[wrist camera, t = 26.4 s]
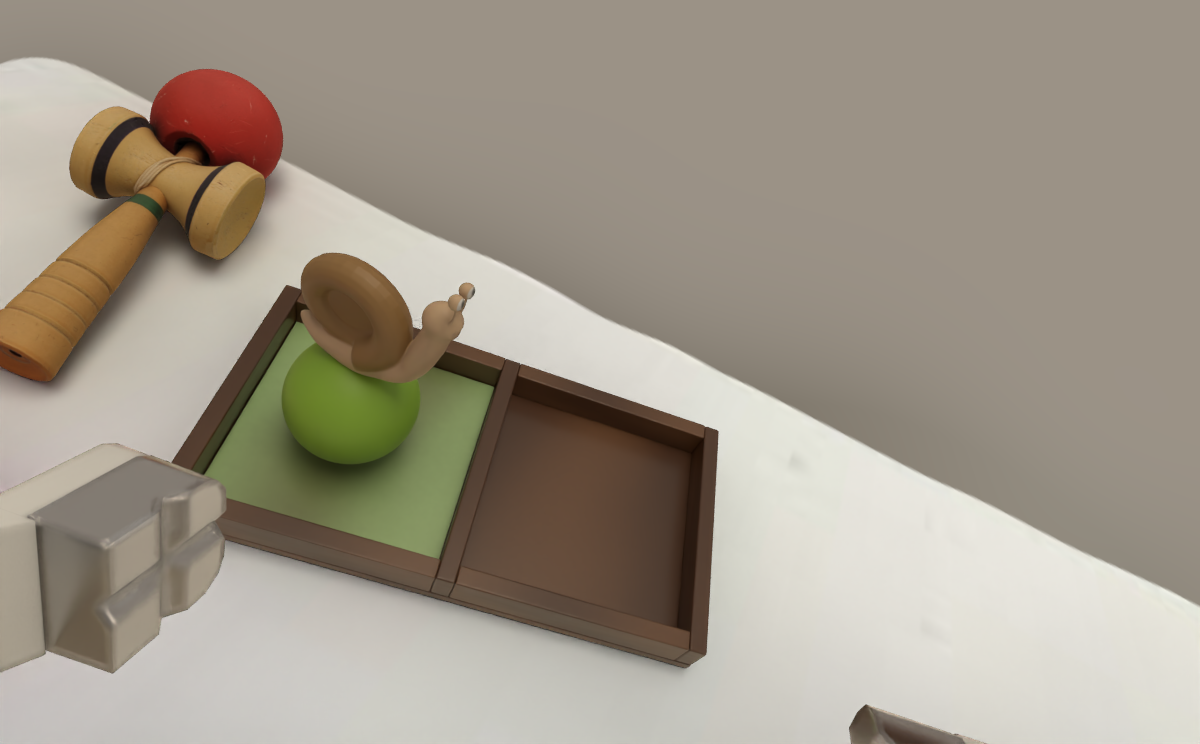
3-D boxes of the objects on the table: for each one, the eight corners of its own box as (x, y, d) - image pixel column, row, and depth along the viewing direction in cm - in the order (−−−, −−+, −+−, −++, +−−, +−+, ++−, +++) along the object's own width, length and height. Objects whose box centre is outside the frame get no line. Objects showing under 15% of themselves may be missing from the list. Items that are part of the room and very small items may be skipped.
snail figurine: (385, 522, 30) (423, 348, 21) (253, 444, 30) (235, 239, 21) (453, 431, 33) (511, 250, 24) (335, 362, 33) (350, 157, 24)
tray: (702, 450, 39) (719, 430, 37) (686, 668, 31) (707, 655, 29) (286, 312, 35) (286, 283, 34) (156, 520, 28) (148, 496, 26)
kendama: (146, 430, 31) (331, 160, 40) (72, 349, 25) (305, 60, 35) (-22, 383, 31) (201, 125, 41) (-131, 293, 26) (157, 21, 35)
